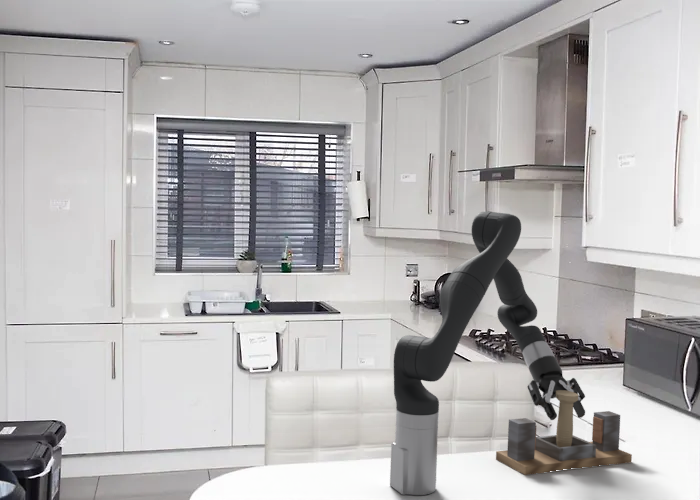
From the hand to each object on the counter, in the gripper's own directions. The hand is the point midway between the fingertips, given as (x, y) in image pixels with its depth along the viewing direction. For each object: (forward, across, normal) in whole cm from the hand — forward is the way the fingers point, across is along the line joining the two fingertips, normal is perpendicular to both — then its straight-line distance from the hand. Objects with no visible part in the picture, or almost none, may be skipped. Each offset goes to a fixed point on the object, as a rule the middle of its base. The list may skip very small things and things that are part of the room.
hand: (568, 417), depth 183 cm
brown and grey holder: (+7, 0, +9) cm, 11 cm away
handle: (+6, 0, +7) cm, 9 cm away
